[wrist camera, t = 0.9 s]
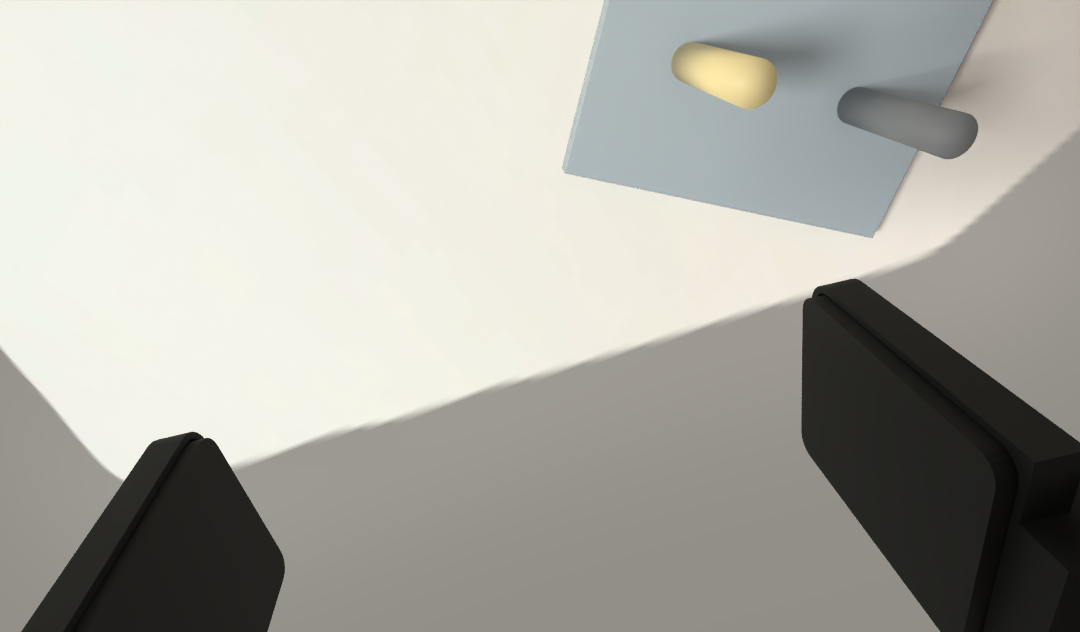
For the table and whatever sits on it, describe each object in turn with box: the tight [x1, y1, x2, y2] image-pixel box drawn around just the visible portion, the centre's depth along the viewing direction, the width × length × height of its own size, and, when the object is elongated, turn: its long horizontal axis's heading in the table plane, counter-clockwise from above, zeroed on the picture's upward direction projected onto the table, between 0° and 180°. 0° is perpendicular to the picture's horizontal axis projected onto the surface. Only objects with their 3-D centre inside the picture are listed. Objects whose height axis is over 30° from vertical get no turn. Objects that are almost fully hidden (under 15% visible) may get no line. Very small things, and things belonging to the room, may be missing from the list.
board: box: [562, 0, 993, 238], centre depth 30 cm, size 14×20×9 cm
